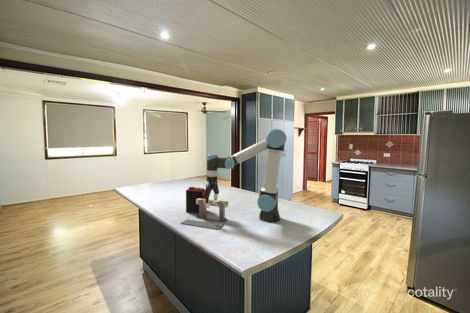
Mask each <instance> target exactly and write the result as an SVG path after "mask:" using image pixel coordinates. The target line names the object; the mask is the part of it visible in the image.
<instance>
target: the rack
mask: <svg viewBox="0 0 470 313" xmlns="http://www.w3.org/2000/svg"><path fill="white" fill-rule="evenodd" d="M198 205H199V213H198V215H197V217H196V219H199V220H206V221H207V220H208V221H215V222H221V223H224V222H225V221H226V220H228V219H227V217H226V208H225V207H223V203H218V208H219V209H218V210H219V212H218V216H215V215H207V214H206V211H205V205H202V201H198Z"/></svg>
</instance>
